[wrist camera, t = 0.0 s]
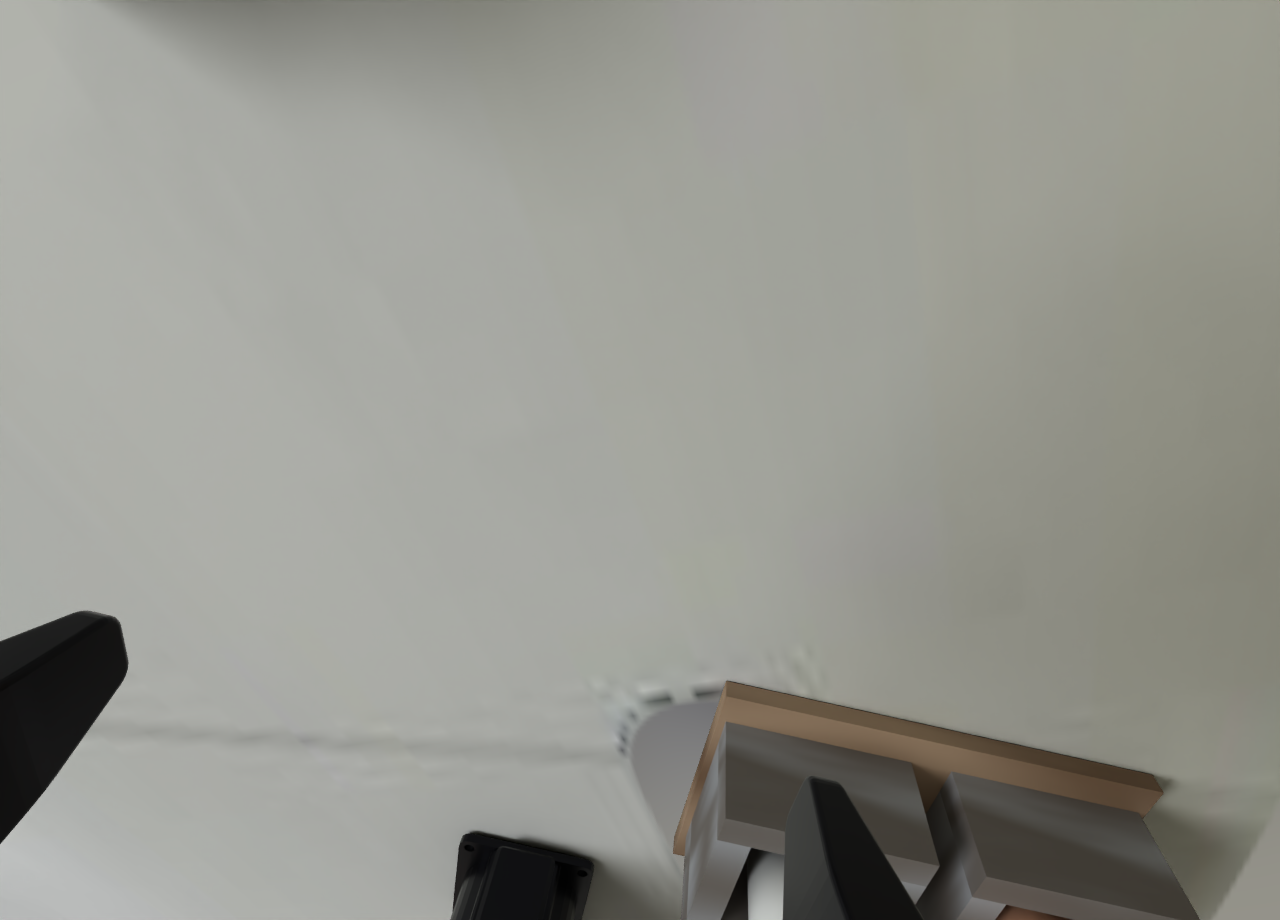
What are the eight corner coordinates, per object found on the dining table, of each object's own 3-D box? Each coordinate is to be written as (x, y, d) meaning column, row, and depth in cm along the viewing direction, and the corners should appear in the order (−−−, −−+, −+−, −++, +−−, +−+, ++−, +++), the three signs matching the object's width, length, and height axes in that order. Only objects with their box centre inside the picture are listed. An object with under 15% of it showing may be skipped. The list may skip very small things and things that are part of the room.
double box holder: (1038, 918, 32) (1087, 1049, 28) (674, 837, 32) (665, 953, 28) (1152, 775, 27) (1234, 904, 23) (726, 680, 28) (725, 791, 23)
